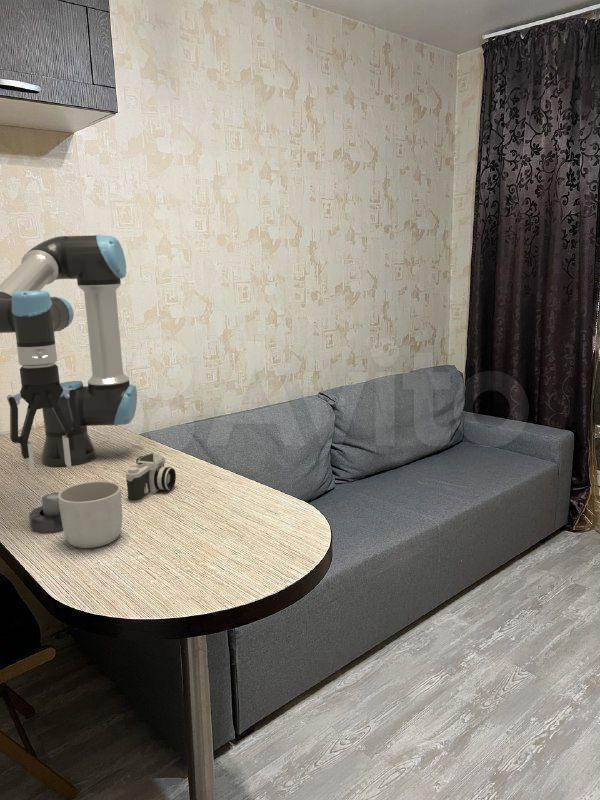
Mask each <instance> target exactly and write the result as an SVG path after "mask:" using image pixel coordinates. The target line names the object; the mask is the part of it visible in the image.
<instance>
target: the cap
mask: <svg viewBox="0 0 600 800" xmlns="http://www.w3.org/2000/svg"><path fill="white" fill-rule="evenodd" d="M59 493H60V492H53V493H47V494H45V495H43V496H42V497H41V501H42V502H41V504H42V505H41V506H43V513H44V516H45V517H55V516H59V515H60V508H59V502H58V494H59Z"/></svg>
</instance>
